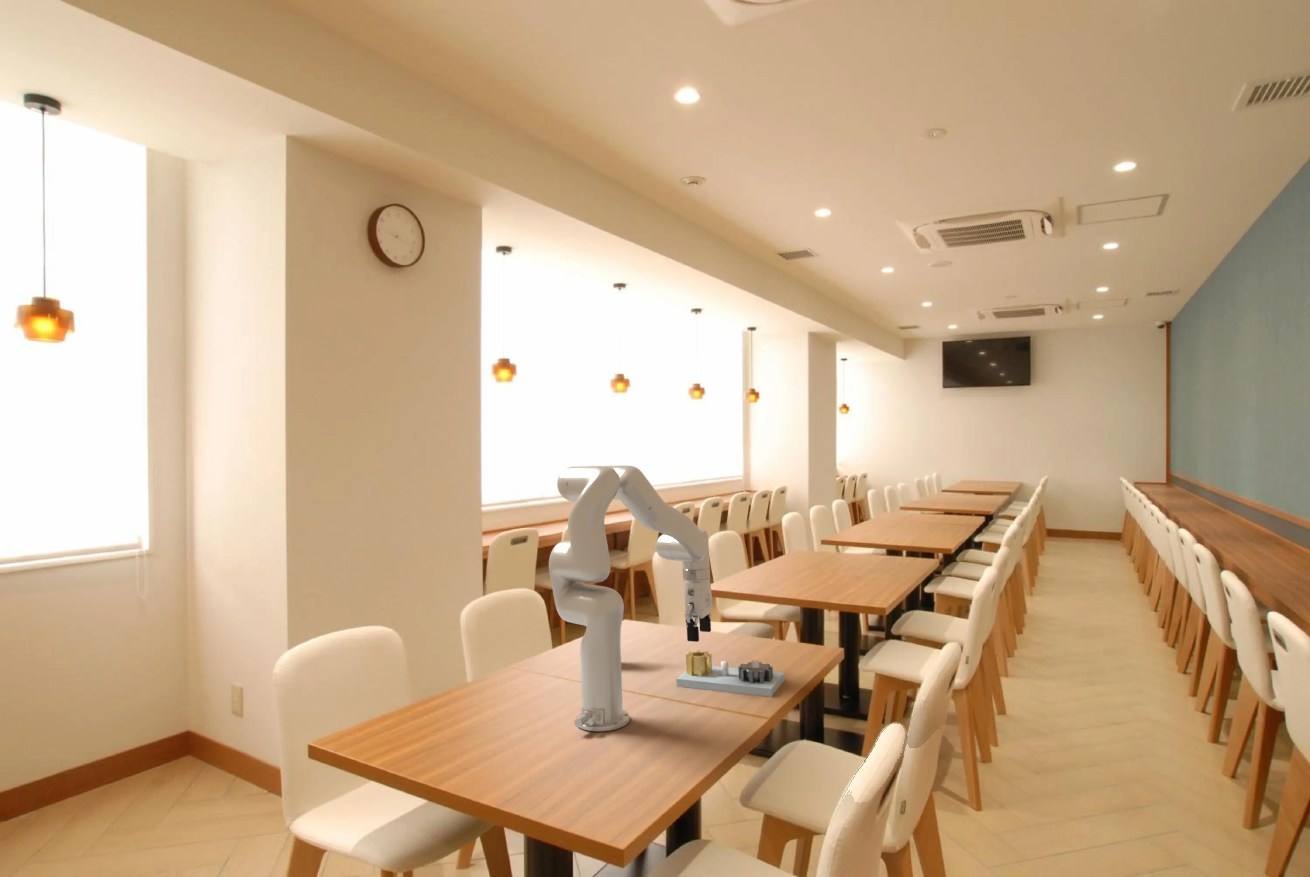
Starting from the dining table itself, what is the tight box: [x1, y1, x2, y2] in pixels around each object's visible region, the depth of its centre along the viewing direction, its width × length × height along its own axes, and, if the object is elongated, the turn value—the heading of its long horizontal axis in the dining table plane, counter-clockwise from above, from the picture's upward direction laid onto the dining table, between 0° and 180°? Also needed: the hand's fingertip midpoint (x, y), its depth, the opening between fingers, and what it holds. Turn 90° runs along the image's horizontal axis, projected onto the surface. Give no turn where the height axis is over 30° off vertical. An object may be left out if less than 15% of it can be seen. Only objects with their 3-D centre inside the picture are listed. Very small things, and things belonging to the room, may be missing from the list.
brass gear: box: [685, 650, 713, 677], centre depth 194 cm, size 7×7×5 cm
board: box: [675, 659, 785, 698], centre depth 191 cm, size 14×26×6 cm, turn 66°
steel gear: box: [737, 661, 774, 684], centre depth 188 cm, size 9×9×3 cm
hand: (699, 636), depth 195 cm, fingers open, 9 cm apart
